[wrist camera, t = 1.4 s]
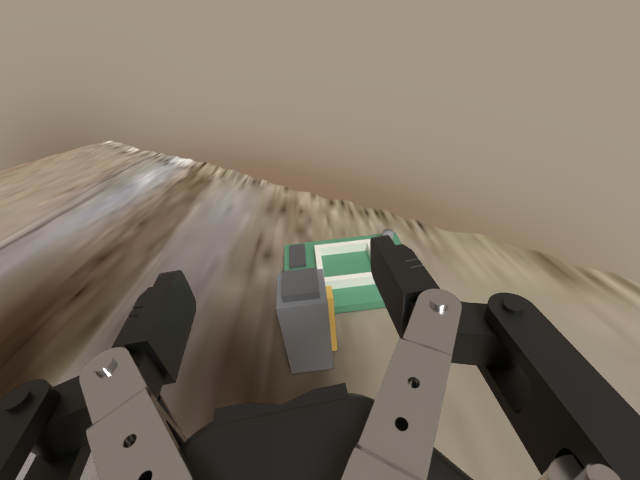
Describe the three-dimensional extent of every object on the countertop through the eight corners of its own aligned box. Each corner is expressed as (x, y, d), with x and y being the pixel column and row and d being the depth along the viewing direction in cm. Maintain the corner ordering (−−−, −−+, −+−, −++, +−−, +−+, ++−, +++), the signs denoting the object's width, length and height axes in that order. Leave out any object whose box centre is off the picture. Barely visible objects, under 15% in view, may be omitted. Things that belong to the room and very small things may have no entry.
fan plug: (291, 373, 30) (274, 302, 24) (291, 337, 34) (276, 267, 28) (339, 367, 31) (334, 295, 24) (334, 332, 34) (328, 261, 28)
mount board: (284, 319, 36) (280, 301, 34) (285, 251, 48) (282, 234, 46) (427, 302, 37) (431, 283, 35) (394, 238, 48) (396, 222, 46)
